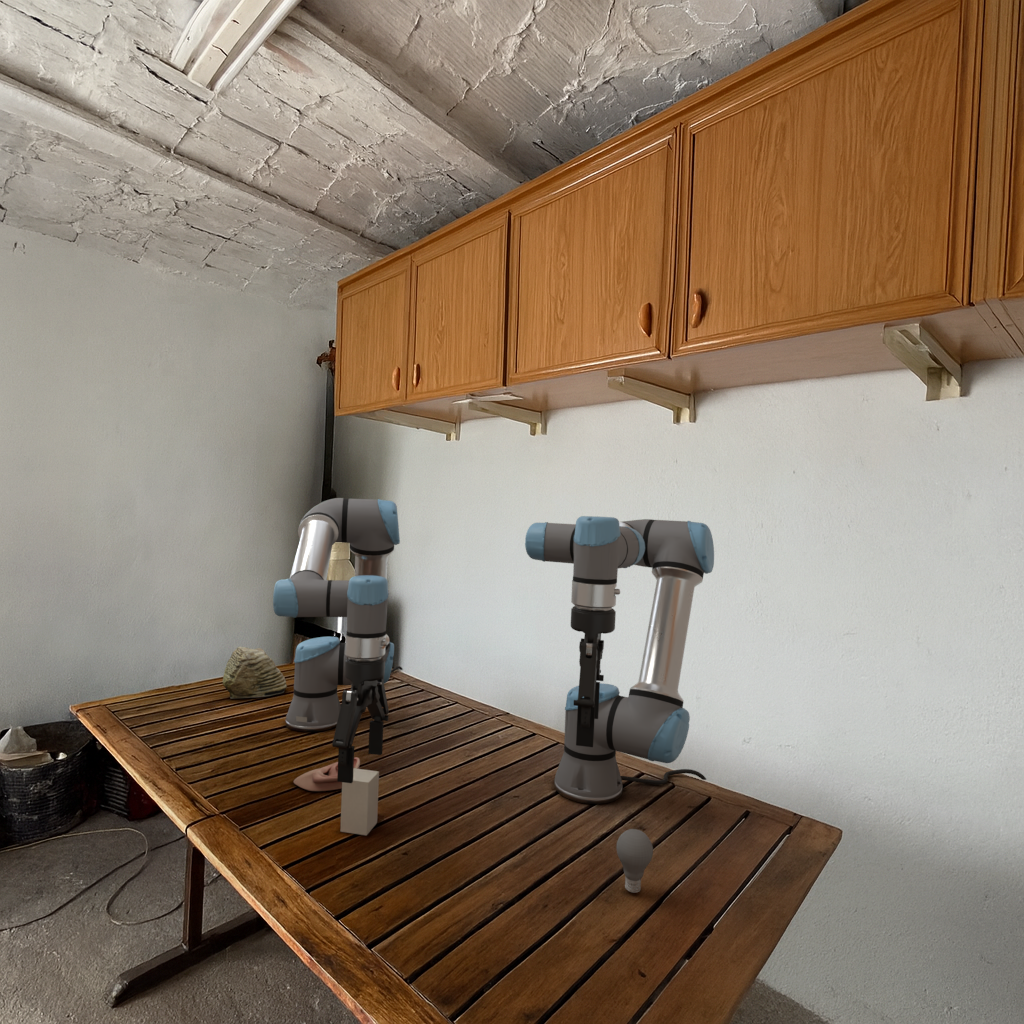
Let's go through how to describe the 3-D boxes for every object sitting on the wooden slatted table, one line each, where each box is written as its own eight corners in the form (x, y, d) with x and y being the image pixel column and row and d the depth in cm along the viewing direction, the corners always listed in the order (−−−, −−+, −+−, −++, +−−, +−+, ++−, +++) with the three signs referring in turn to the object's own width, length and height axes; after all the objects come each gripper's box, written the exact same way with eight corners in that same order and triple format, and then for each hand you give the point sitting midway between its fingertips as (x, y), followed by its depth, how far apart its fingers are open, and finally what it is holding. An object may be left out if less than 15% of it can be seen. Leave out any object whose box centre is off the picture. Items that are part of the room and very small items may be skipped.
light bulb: (610, 879, 108) (613, 822, 108) (644, 879, 109) (647, 822, 109) (619, 902, 102) (622, 840, 102) (655, 901, 103) (658, 840, 103)
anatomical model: (286, 769, 137) (313, 749, 148) (285, 787, 137) (312, 766, 148) (343, 777, 134) (366, 756, 145) (342, 796, 134) (365, 773, 145)
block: (340, 831, 120) (342, 778, 120) (351, 818, 125) (353, 768, 125) (366, 835, 119) (368, 782, 119) (377, 822, 124) (379, 771, 124)
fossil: (218, 695, 195) (220, 647, 195) (278, 685, 208) (279, 640, 207) (228, 703, 189) (230, 653, 188) (289, 692, 201) (290, 645, 201)
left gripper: (355, 674, 109) (350, 798, 109) (406, 645, 133) (402, 745, 133) (315, 670, 110) (310, 792, 110) (373, 642, 135) (369, 741, 135)
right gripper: (613, 621, 95) (606, 762, 95) (617, 598, 119) (612, 709, 120) (563, 617, 96) (557, 756, 97) (578, 595, 121) (572, 705, 121)
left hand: (361, 767), depth 122 cm, fingers open, 13 cm apart
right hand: (587, 731), depth 108 cm, fingers open, 13 cm apart
